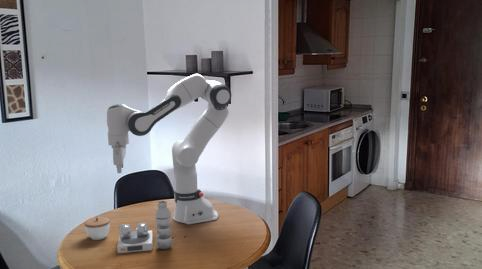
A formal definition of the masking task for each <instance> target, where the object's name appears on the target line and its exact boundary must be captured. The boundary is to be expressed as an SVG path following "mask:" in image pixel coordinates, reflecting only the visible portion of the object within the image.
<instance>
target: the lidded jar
mask: <svg viewBox="0 0 482 269" xmlns="http://www.w3.org/2000/svg"><path fill="white" fill-rule="evenodd" d="M84 228H85V232H86V234H87V236H88V237H89V238H90V239H91V240H93V241H99V240H104V239H105V238H106V237H107V236H108V233H109V232H110V228H111V219H110V218H109V217H107V216H96V217H91V218H88V219H87V220H85V222H84Z"/></svg>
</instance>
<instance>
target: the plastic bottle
mask: <svg viewBox="0 0 482 269" xmlns="http://www.w3.org/2000/svg"><path fill="white" fill-rule="evenodd" d="M154 218H155V224H156V240H155V245H156V247H157V248H158V249H160V250H167V249H170V248H171V247H172V244H173V239H172V234H171V218H172V212H171V211H170V209H169V208H168V202H167V200H166V201H165V200H160V201H158V202H157V210H156V212H155V214H154Z"/></svg>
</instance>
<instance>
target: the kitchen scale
mask: <svg viewBox="0 0 482 269" xmlns="http://www.w3.org/2000/svg"><path fill="white" fill-rule="evenodd" d="M153 241H154V240H153V230H148V236H147V237H145V238H138V237H137V230H133V231H132V230H131V238H129V239H120V236H119V237H118V240H117V246H116V247H117V248H116V250H117V254H123V253H124V254H125V253H132V252H133V253H134V252H135V253H136V252H145V251H152V250H153V243H154V242H153Z"/></svg>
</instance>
